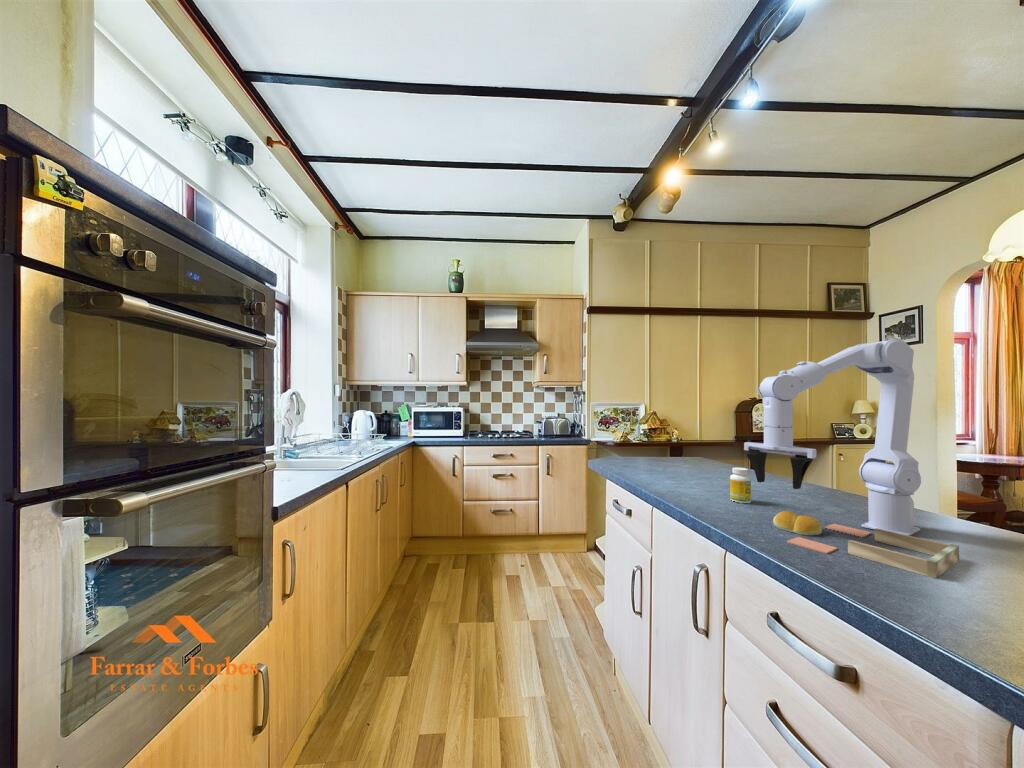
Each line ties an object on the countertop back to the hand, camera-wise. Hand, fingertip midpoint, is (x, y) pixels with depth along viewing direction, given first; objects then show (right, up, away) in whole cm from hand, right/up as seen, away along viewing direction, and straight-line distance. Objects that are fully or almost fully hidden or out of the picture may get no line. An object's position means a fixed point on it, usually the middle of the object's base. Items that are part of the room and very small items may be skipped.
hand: (778, 485), depth 92 cm
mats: (+7, -10, -6) cm, 14 cm away
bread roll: (+4, -11, -1) cm, 11 cm away
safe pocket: (+13, -10, -16) cm, 23 cm away
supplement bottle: (+4, -11, +23) cm, 26 cm away
